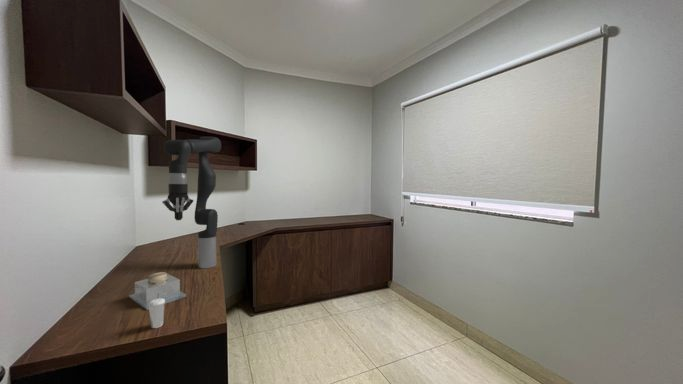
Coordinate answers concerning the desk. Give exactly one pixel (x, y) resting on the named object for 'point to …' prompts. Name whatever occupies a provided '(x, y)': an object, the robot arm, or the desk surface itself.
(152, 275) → the beech pin
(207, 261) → the robot arm
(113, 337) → the desk surface
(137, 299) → the block
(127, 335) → the desk surface
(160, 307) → the milkshake
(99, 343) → the desk surface
